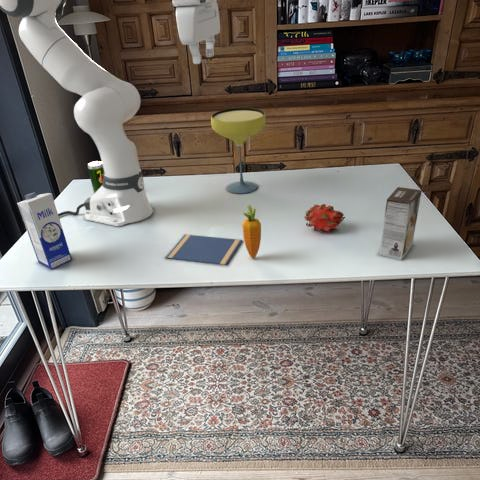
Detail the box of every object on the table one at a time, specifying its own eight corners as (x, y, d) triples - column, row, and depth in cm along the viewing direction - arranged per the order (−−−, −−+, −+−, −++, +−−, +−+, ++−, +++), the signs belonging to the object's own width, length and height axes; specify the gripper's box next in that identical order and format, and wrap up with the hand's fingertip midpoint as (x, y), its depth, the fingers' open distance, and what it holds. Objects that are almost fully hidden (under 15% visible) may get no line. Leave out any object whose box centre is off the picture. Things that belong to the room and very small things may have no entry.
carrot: (260, 263, 128) (258, 211, 119) (242, 262, 129) (239, 210, 120) (263, 254, 132) (262, 203, 123) (246, 253, 133) (243, 202, 124)
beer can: (92, 198, 171) (83, 165, 164) (100, 193, 175) (92, 160, 168) (105, 200, 170) (97, 166, 162) (112, 194, 174) (105, 161, 166)
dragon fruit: (300, 233, 144) (339, 237, 144) (305, 228, 135) (346, 233, 136) (303, 205, 144) (342, 209, 144) (308, 198, 135) (349, 203, 135)
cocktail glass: (271, 194, 165) (270, 118, 150) (220, 200, 163) (213, 124, 148) (261, 176, 179) (259, 105, 164) (214, 181, 178) (208, 110, 163)
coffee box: (389, 240, 134) (397, 185, 124) (412, 245, 131) (422, 189, 121) (378, 255, 128) (386, 198, 118) (402, 260, 125) (412, 203, 115)
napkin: (165, 258, 133) (165, 257, 133) (185, 235, 144) (184, 234, 144) (226, 265, 128) (226, 263, 128) (241, 241, 139) (241, 239, 139)
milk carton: (50, 270, 132) (27, 201, 120) (37, 262, 135) (13, 195, 123) (72, 259, 136) (52, 192, 124) (59, 252, 140) (38, 187, 127)
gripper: (200, -9, 121) (205, 53, 129) (168, -3, 105) (177, 67, 113) (223, -10, 119) (228, 52, 127) (195, -4, 103) (202, 67, 112)
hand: (204, 60), depth 120 cm, fingers open, 8 cm apart
